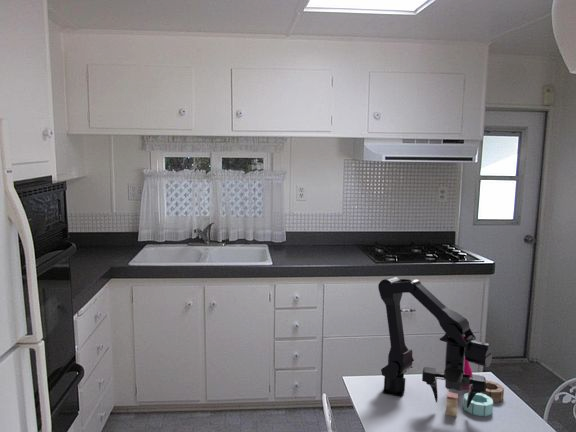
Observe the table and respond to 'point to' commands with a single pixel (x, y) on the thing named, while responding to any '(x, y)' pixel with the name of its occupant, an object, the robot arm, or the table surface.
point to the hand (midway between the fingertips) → (451, 404)
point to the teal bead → (479, 404)
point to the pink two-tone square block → (451, 404)
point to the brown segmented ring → (494, 391)
